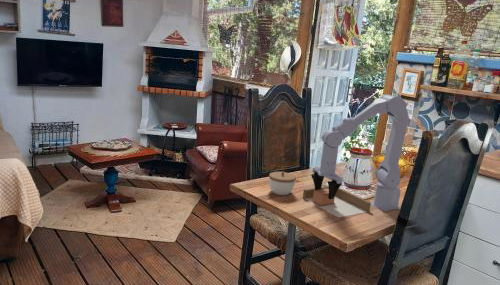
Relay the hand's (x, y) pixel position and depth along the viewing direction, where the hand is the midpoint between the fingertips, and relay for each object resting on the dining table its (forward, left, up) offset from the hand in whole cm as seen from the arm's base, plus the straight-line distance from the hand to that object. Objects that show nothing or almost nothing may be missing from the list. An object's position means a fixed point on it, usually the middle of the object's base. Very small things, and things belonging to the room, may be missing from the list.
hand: (324, 195), depth 145 cm
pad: (0, 0, -3) cm, 3 cm away
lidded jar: (+10, -15, -4) cm, 18 cm away
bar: (0, 0, -3) cm, 3 cm away
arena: (-3, +3, -4) cm, 6 cm away
